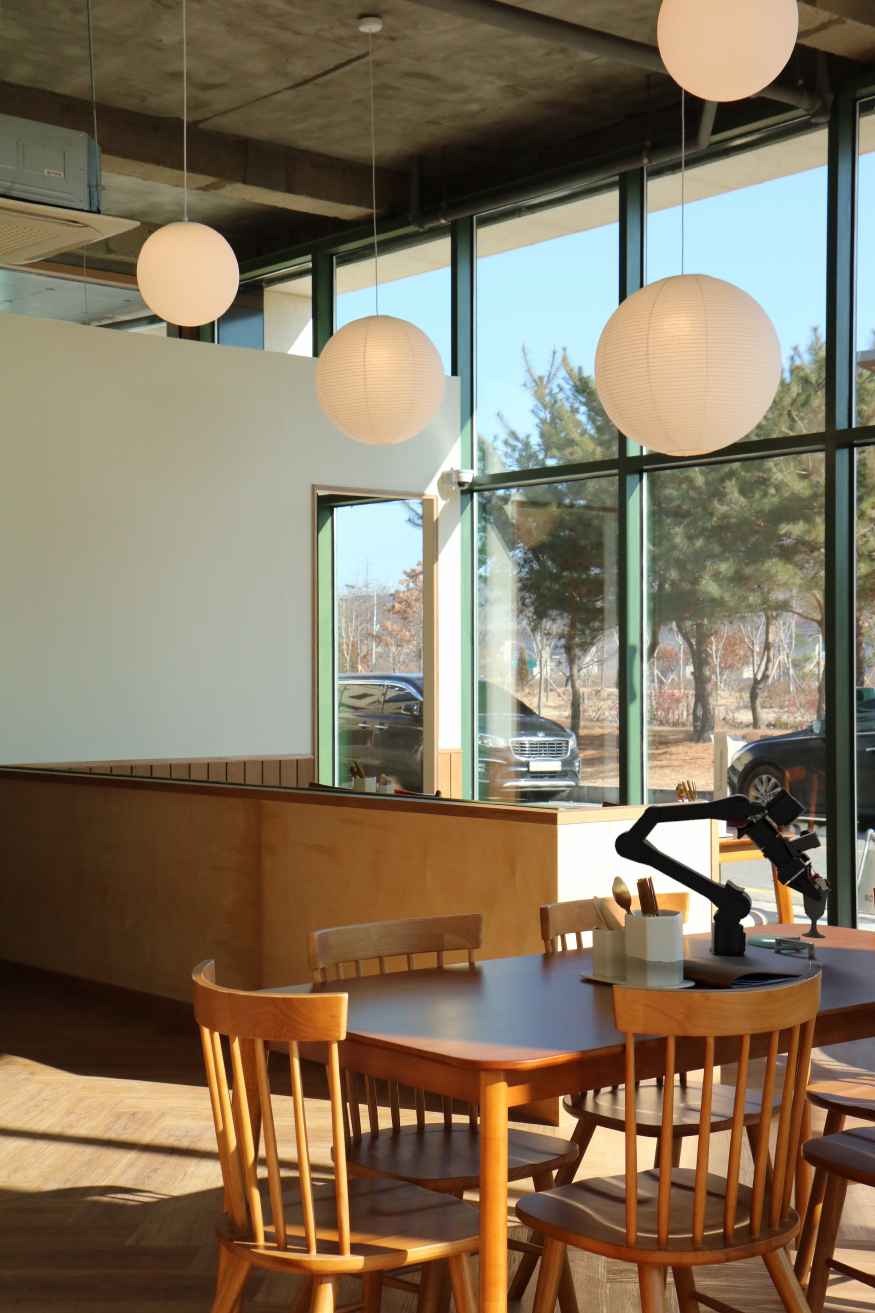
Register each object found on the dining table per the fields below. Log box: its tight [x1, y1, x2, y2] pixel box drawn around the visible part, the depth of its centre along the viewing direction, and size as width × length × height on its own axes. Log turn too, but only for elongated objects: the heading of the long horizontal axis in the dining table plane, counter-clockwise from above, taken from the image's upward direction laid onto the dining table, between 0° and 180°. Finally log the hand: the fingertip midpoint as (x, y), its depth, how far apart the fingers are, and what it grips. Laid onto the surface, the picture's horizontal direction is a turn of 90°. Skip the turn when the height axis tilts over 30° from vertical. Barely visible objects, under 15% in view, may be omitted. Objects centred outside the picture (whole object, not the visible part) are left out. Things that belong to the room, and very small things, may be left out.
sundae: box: [801, 865, 832, 939], centre depth 281 cm, size 7×7×15 cm
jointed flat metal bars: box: [774, 935, 816, 959], centre depth 289 cm, size 7×10×3 cm
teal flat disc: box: [746, 934, 806, 950], centre depth 301 cm, size 13×13×1 cm
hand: (821, 898), depth 281 cm, fingers closed on sundae, 7 cm apart
